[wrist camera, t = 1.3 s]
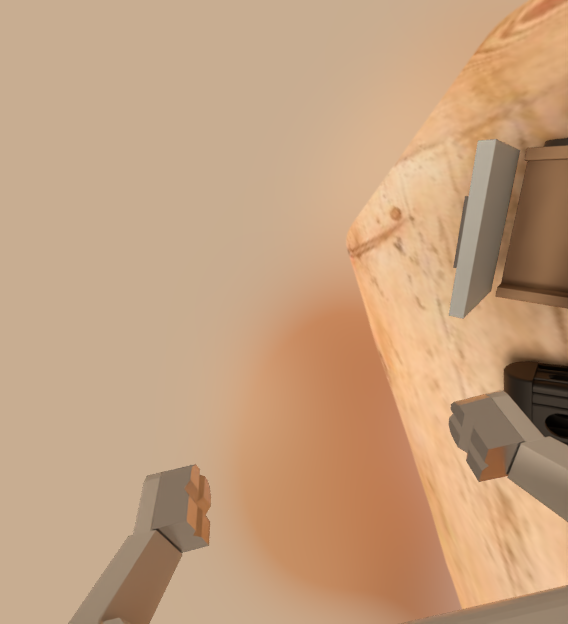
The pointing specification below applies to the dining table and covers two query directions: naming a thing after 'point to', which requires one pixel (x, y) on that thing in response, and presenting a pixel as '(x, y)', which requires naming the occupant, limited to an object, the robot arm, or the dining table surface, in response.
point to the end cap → (540, 395)
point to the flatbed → (540, 231)
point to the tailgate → (482, 224)
